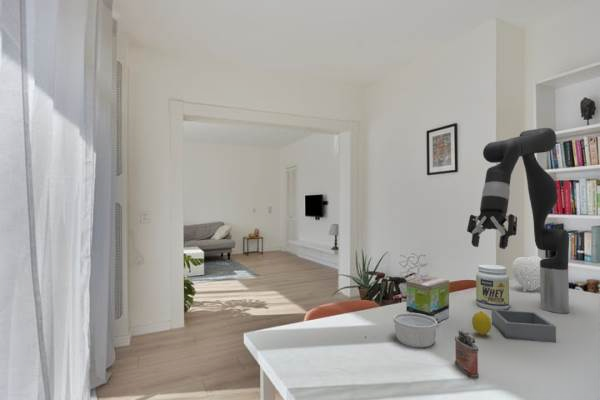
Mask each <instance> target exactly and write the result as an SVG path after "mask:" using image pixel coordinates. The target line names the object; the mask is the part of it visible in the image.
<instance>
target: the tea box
mask: <svg viewBox="0 0 600 400" xmlns="http://www.w3.org/2000/svg"><path fill="white" fill-rule="evenodd" d="M405 313H418V314H423V315H427V316H430V317H432V318H434V319H435V320H436V321H437V323H439V322H441V321H444V320H446V319H448V318H450V279H445V278H444V279H443V278H439V277H434V276H433V277H432V276H422V277H418V278H415V279H412V280H408V281H406V311H405Z"/></svg>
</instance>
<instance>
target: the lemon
mask: <svg viewBox="0 0 600 400" xmlns="http://www.w3.org/2000/svg"><path fill="white" fill-rule="evenodd" d="M471 321H472V323H471V324H472V328H473V330H474V331H475V332H476V333H478V334H479V335H481V336H484V335H486V334H488V333H490V331H491V330H492V319H491V317H490V316H489V315H488V314H487V313H485V312H484V311H482V310H480V311H478V312H476V313H475V314H473V317H472V320H471Z"/></svg>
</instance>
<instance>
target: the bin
mask: <svg viewBox="0 0 600 400" xmlns="http://www.w3.org/2000/svg"><path fill="white" fill-rule="evenodd" d="M491 325H493V326H494V327H495V328H496V329H497V330H498V332H500V334H502V335H503V337H504V338H505V339H509V340H510V339H511V340H522V341H533V342H545V343H546V342H547V343H557V326H556V325H555V324H554V323H552V322H550V321H549V320H547V319H546V318H544V317H543V316H541V315H540V314H538V313H537V312H536V311H524V310H522V311H521V310H510V309H509V310H508V309H504V310H494V309H491Z"/></svg>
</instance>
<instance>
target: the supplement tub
mask: <svg viewBox="0 0 600 400" xmlns="http://www.w3.org/2000/svg"><path fill="white" fill-rule="evenodd" d="M477 267H478V268H477V272H476V275H475V278H476V279H475V290H476V291H475V294H476V295H475V297H476V298H475V299H476V300H475V302H476V304H477V305H478V306H479V307H482V308H484V309H490V310H492V309H493V310H508V308H509V307H510V276H509V274H507V267H506V266H503V265H499V264H498V265H497V264H478V266H477Z"/></svg>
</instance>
